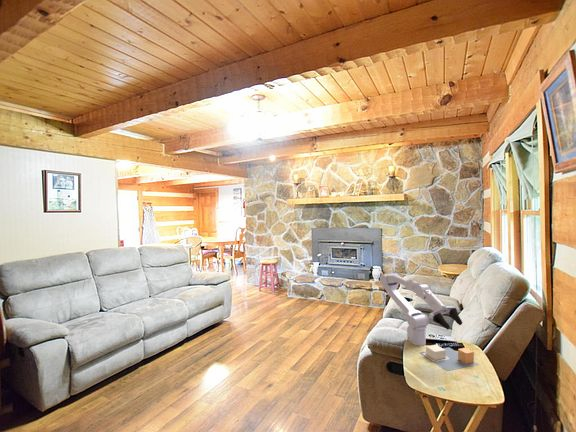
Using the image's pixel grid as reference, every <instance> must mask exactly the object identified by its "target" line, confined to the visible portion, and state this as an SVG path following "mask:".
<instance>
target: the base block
mask: <svg viewBox="0 0 576 432" xmlns="http://www.w3.org/2000/svg"><path fill="white" fill-rule="evenodd" d="M425 346H426V347H425V352H426V355H428V356H430V357H431V358H433V359H434V360H439V359H444V358H446V355H445V349H443V348H444V347H443V348H442V347H441V346H440V345H438V344H431V345H425Z"/></svg>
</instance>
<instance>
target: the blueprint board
mask: <svg viewBox="0 0 576 432" xmlns="http://www.w3.org/2000/svg"><path fill="white" fill-rule="evenodd" d="M443 349H445V355H446V358H444V359H439V360H434V359H433V358H431V357H430V356H428V355H426V351H421V352H420V351H419V354H420V355H421V356H423V357H425V358H426V359H428V360H429V361H431V362H432V363H434V364H435V365H437V366H438V367H439V368H440V369H442V370H444V371H446V372H451V371H455V370H460V369H465V368H470V367H475V366H479V365H480V364H479V363H477V362H476V361H474V362H473V363H469V364H465V363H463V362H462V361H460V360H458V351H456V350H454V349H453V348H451V347H449V346H448V347H443Z"/></svg>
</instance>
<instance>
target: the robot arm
mask: <svg viewBox="0 0 576 432" xmlns="http://www.w3.org/2000/svg"><path fill="white" fill-rule="evenodd" d="M379 284H380V285H381V286H382V287H383V288H384V289H385V291H386V293H387V295H388V297H389V296H390V298H391V300H393V301H394V303H395V304H396V305H397V306H398V307H399V309H401V311H402V312H403V313H404V315H405V321H406V322H407V325H408V327H407V329H406V337H407V338H406V340H408V341H409V342H410V343H411V344H413V345H414V346H420V347H422V346H423V347H424V346H426V344H427V343H426V341H427V340H426V339H427V338H426V337H427V336H426V329H427V326H428V325H429V323H430V320H429V319H432V321H433V322H434V323H436V324H438V325H440V326H441V327H443V328H445V329H446V330H449V329H450V328H451V325H449V323H448V322H447V321H446V320H445V318H444V317H443V315H444V314H448V317H449V318H451V319H452V320H453V321H455V322H456V324H457V325H459V326H461V325H462V324H463V320H462V319H461V318H460V316H459V313H458V309H457V307H455V306H454V305H448V306H447V305H445V304H443V303H442V301H441V300H440V299H439V298H438V297H437V296H436V295H435V294H434V293H433V292H432V289H431V287H430V285H429V284H427V283H423V284H422V283H421V282H419V281H415V280H414V279H413V278H409V279H406V278H404V277H402V276H401V275H399V273H395V272H392V273H385V274H383V273H382V274H380V277H379ZM399 285H402V286H403V287H405V289H406V290H408V291H409V292H410V291H411V292H413V293H415V296H417V297H418V298H420V299H421V300H422V301H424V303H426V304H427V305H428V306H429V308H430V309H431V310H432V312H429V314H428V316H427V314H425V313H423V312H422V311H421V310H418V309H415V307H413V306H412V305H411V303H410V302H408V300H407V299H406V298H405V297H404V296H403V295H402V294H401V293H400V291H398V290H397V289H398V288H399Z"/></svg>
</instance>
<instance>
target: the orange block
mask: <svg viewBox="0 0 576 432" xmlns="http://www.w3.org/2000/svg"><path fill="white" fill-rule="evenodd" d="M457 352H458V360H460V361H462V362H463V363H465V364H469V363H473V362H475V355H474V354H475V353H474V352H475V351H473V350H471V349H469V348H467V347H462V348H458V349H457Z"/></svg>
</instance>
